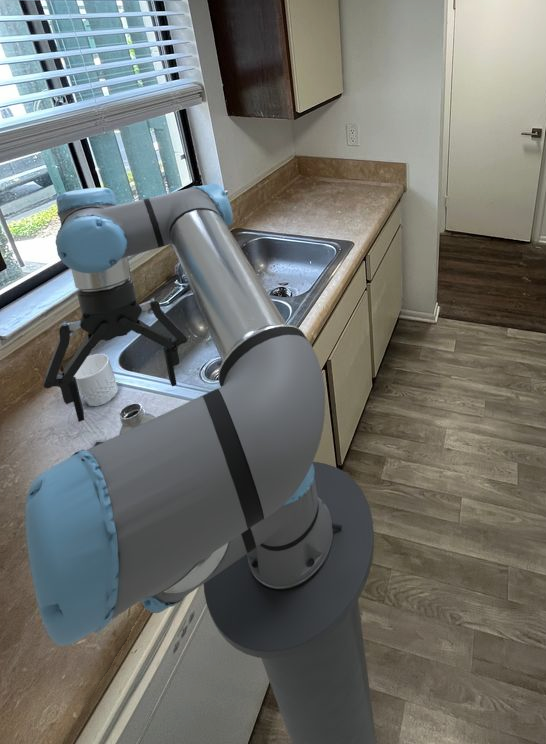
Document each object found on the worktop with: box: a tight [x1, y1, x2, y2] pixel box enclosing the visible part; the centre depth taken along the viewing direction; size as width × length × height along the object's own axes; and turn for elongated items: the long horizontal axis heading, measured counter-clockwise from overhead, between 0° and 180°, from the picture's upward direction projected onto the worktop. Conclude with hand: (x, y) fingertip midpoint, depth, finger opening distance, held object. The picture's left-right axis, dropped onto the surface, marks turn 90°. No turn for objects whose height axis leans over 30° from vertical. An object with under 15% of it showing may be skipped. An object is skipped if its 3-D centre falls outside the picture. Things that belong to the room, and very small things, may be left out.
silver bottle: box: [118, 402, 156, 435], centre depth 85 cm, size 6×7×20 cm
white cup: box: [74, 353, 119, 407], centre depth 107 cm, size 8×8×10 cm
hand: (129, 398), depth 75 cm, fingers open, 13 cm apart
